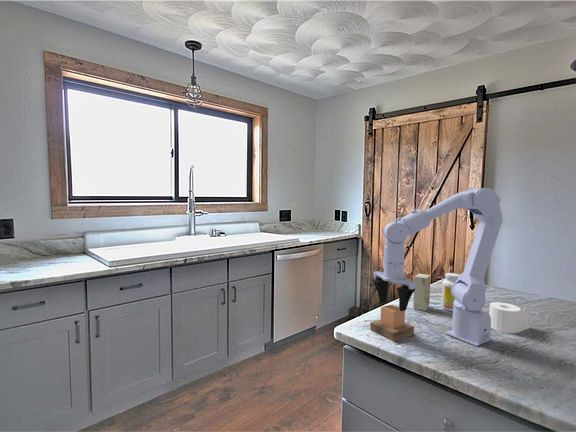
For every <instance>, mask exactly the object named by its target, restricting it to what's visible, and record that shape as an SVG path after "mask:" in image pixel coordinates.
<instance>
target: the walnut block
mask: <svg viewBox="0 0 576 432" xmlns="http://www.w3.org/2000/svg"><path fill="white" fill-rule="evenodd" d="M369 329H370V331H371V332H373V333H375V334H377V335H379V336H381V337H383V338H385V339H387V340H389V341H391V342H397V341H400V340H402V339H405V338H408V337H411V336H414V334H415V326H414V325H412V324H409V323H407V322H405V325H404V326H401V327H397V328H394V329H392V328H390V327H388V326H386V325H384V324H382V323H380V319H378V320H377V319H376V320H374V321H370V328H369Z"/></svg>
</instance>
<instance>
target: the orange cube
mask: <svg viewBox="0 0 576 432" xmlns="http://www.w3.org/2000/svg"><path fill="white" fill-rule="evenodd" d="M379 320H380V323H382V324H384V325H386V326H388V327H390V328H392V329H394V328H397V327H401V326H404V325H405V323H406V310H404V311H400V309H399V305H395V304H388V305H384V306H380V319H379Z"/></svg>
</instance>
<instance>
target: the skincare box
mask: <svg viewBox="0 0 576 432" xmlns="http://www.w3.org/2000/svg"><path fill="white" fill-rule="evenodd" d="M413 277H414V280H413V281H415V282H416V288H415V291H414V292H413V304H412V309H414V310H416V311H417V310H418V311H422V312H426V311H427V310H428V309H429V308H430V296H431V295H430V294H431V293H430V292H431V275H430V274H425V273H418V274H416V275H415V276H413Z"/></svg>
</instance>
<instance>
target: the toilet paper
mask: <svg viewBox="0 0 576 432" xmlns="http://www.w3.org/2000/svg"><path fill="white" fill-rule="evenodd" d="M488 310H489V312H488V314H489V315H490V317H491V329H492V330H495V331H498V332H501V333H506V334H518V333H520V332H523V331H526V330H528V329H530V324H529V323H530V322H529V319H528V313H527V309H526V307H524V308H523V309H521V307H519V306H517V305H515V304H512V303H508V302H500V301H499V302H498V301H497V302H496V301H495V302H494V301H493V302H490V303H489V309H488Z"/></svg>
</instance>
